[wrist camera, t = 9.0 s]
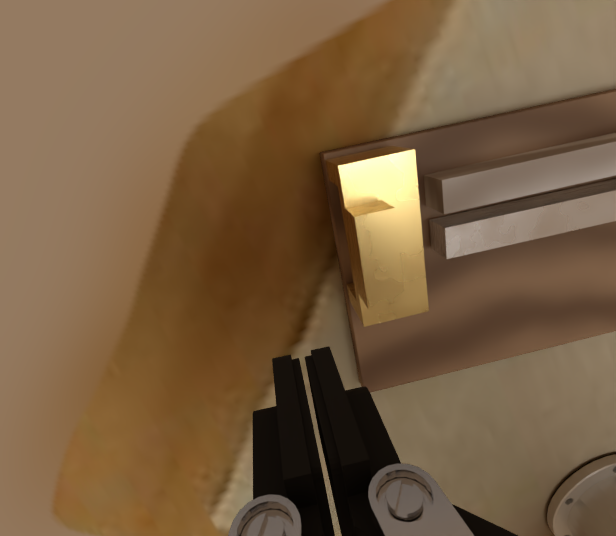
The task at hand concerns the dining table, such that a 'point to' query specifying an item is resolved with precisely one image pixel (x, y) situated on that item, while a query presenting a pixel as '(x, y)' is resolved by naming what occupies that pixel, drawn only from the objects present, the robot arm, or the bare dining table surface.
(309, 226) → the dining table surface
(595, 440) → the dining table surface
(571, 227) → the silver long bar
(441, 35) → the dining table surface
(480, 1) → the dining table surface
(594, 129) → the tongs board
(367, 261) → the pale yellow block
